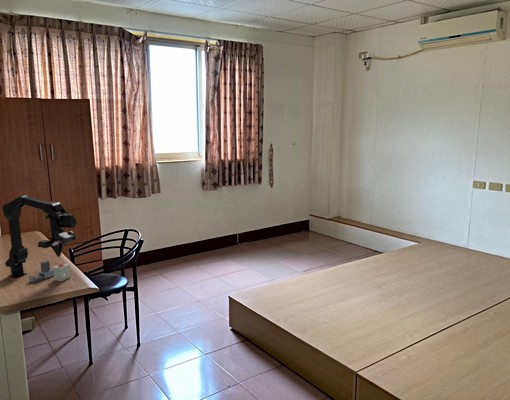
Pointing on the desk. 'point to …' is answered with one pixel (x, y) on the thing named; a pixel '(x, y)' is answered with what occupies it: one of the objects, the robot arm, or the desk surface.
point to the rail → (37, 278)
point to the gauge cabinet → (61, 272)
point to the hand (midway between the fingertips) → (58, 256)
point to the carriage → (46, 269)
